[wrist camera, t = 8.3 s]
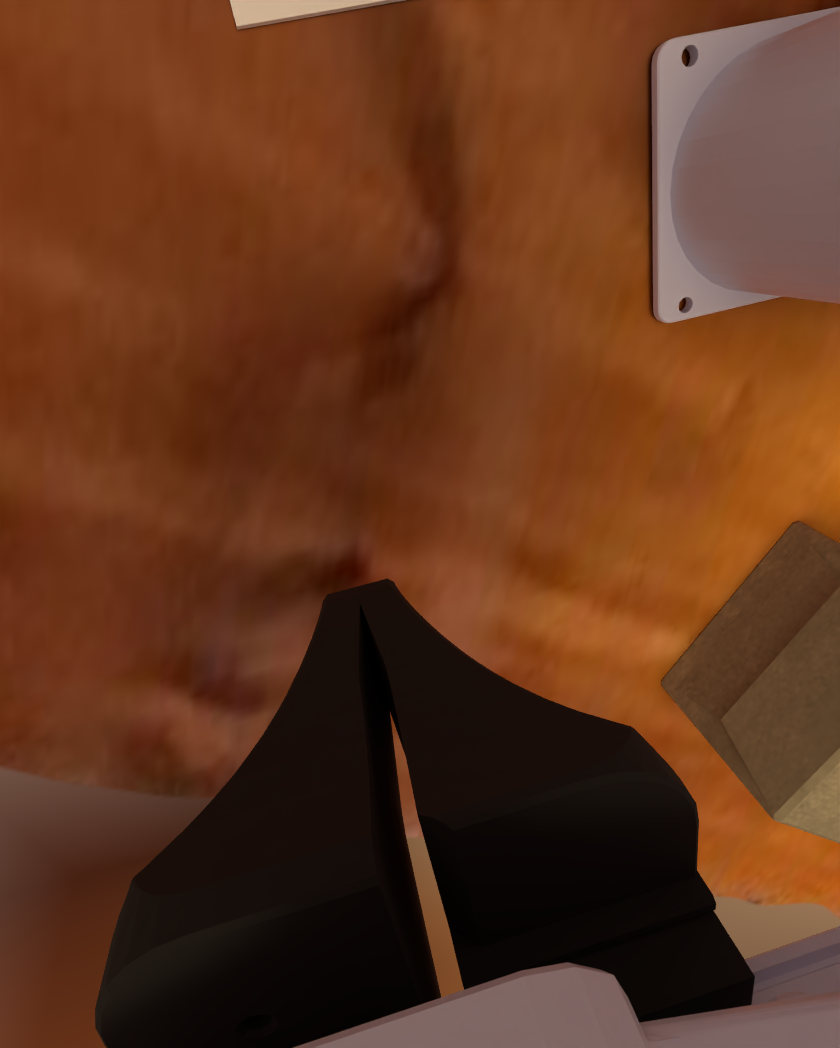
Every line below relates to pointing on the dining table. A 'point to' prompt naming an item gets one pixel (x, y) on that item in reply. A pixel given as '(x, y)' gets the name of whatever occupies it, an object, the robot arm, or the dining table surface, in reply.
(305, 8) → the beige mat
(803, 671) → the tissue box
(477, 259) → the dining table surface
